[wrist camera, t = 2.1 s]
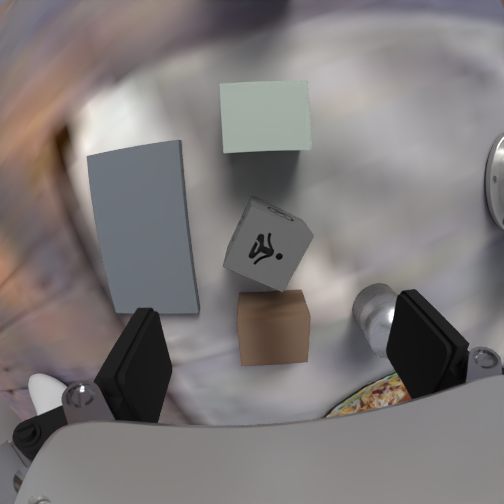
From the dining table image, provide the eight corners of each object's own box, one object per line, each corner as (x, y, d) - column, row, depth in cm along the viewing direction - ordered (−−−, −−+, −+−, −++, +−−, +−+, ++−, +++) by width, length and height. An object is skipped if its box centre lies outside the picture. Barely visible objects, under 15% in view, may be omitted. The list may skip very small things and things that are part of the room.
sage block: (296, 94, 22) (307, 81, 17) (299, 150, 24) (311, 149, 19) (225, 96, 22) (219, 83, 17) (228, 152, 24) (223, 153, 19)
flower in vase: (62, 364, 32) (-18, 497, 9) (104, 417, 36) (55, 544, 12) (18, 369, 33) (-50, 469, 10) (56, 416, 37) (7, 516, 13)
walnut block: (301, 289, 28) (310, 316, 23) (300, 331, 30) (307, 361, 25) (239, 292, 28) (236, 320, 23) (242, 334, 30) (241, 365, 25)
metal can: (398, 281, 28) (425, 309, 22) (390, 321, 29) (413, 353, 24) (355, 285, 28) (376, 317, 22) (350, 326, 29) (367, 362, 24)
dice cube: (251, 195, 25) (251, 206, 20) (302, 219, 26) (314, 235, 21) (227, 245, 26) (222, 266, 22) (277, 267, 27) (282, 292, 22)
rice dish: (339, 355, 32) (348, 386, 27) (486, 353, 33) (503, 372, 28) (288, 465, 42) (290, 489, 37) (414, 454, 42) (421, 473, 37)
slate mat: (181, 140, 23) (178, 140, 22) (200, 308, 28) (198, 313, 27) (91, 155, 23) (86, 156, 22) (119, 308, 29) (116, 313, 28)
